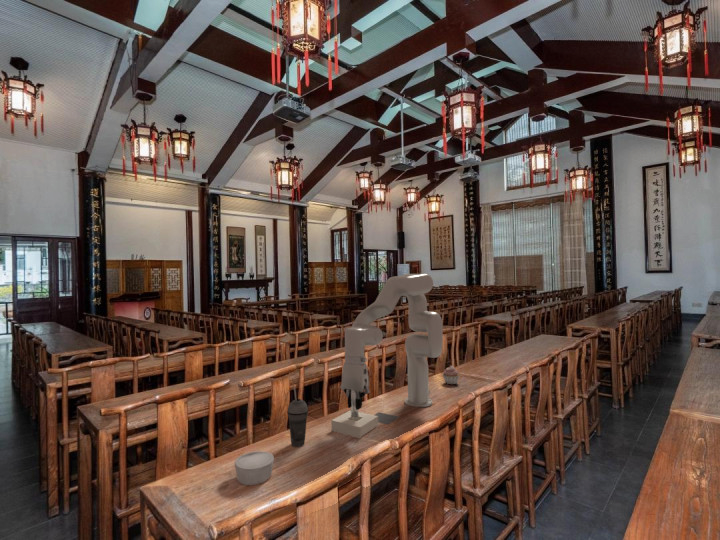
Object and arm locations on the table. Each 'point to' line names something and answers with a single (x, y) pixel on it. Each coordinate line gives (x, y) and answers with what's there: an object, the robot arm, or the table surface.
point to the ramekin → (254, 467)
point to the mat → (385, 418)
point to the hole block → (354, 424)
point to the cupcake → (451, 375)
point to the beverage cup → (297, 421)
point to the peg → (354, 404)
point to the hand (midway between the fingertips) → (354, 407)
